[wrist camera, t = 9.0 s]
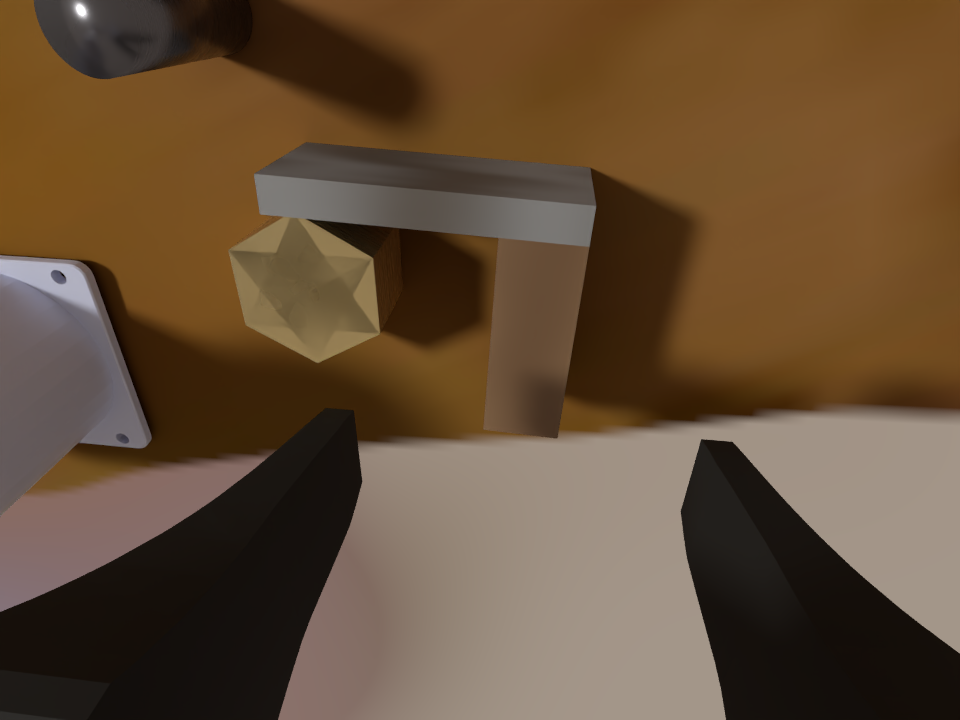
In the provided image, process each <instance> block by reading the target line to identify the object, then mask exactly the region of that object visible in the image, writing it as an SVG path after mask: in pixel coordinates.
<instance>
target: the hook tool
mask: <svg viewBox="0 0 960 720" xmlns="http://www.w3.org/2000/svg"><path fill="white" fill-rule="evenodd" d="M254 177H255V184H256V191H257V198H258V204H259V211H260V214H262V215H272V216H282V217H292V218H302V219H312V220H322V221H333V222H343V223H353V224H363V225H373V226H383V227H393V228H404V229H414V230H424V231H434V232H444V233H454V234H464V235H475V236H485V237H495V238H499V239H498V251H497V264H496V277H495V289H494V302H493V315H492V327H491V340H490V353H489V365H488V378H487V390H486V403H485V416H484V428H483V430H491V431H500V432H508V433H516V434H524V435H533V436H541V437H549V438H557V437H558V431H559V425H560V419H561V413H562V407H563V401H564V395H565V389H566V383H567V378H568V372H569V366H570V360H571V354H572V348H573V342H574V336H575V330H576V324H577V318H578V312H579V306H580V300H581V294H582V288H583V282H584V276H585V270H586V264H587V258H588V253H589V247H590V241H591V235H592V229H593V223H594V217H595V211H596V201H595V195H594V188H593V182H592V176H591V169H590V168H588V167H577V166H566V165H554V164H543V163H532V162H521V161H509V160H498V159H487V158H476V157H464V156H453V155H442V154H431V153H420V152H408V151H397V150H386V149H375V148H363V147H352V146H341V145H330V144H319V143H307V142H306V143H304V144H303V145H301V146H299V147H298V148H296V149H294V150H293V151H291V152H289V153H288V154H286V155H284V156H283V157H281V158H279V159H278V160H276V161H274V162H273V163H271V164H270V165H268V166H266V167H265V168H263V169H261V170H260V171H258V172H256V173H255V174H254Z"/></svg>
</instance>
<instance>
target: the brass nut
mask: <svg viewBox="0 0 960 720" xmlns="http://www.w3.org/2000/svg"><path fill="white" fill-rule="evenodd" d="M228 251H229V255H230V259H231V264H232V268H233V272H234V277H235V281H236V285H237V290H238V294H239V298H240V303H241V307H242V311H243V316H244V320H245V324H246V325H247V326H249V327H250V328H252V329H254V330H256V331H258V332H260V333H262V334H264V335H266V336H267V337H269V338H271V339H273V340H275V341H277V342H279V343H281V344H282V345H284V346H286V347H288V348H290V349H292V350H294V351H296V352H298V353H299V354H301V355H303V356H305V357H307V358H309V359H311V360H313V361H315V362H316V363H319V362H321V361H323V360H325V359H328V358H330V357H332V356H334V355H336V354H338V353H340V352H343V351H345V350H347V349H349V348H351V347H353V346H355V345H358V344H360V343H362V342H364V341H366V340H368V339H370V338H373V337H375V336H377V335H379V334H380V333H381V331H382V329H383V327H384V325H385V323H386V321H387V319H388V318H389V316H390V314H391V312H392V310H393V308H394V306H395V304H396V302H397V300H398V298H399V296H400V294H401V293H402V291H403V281H402V266H401V250H400V235H399V228H393V227H383V226H373V225H363V224H353V223H343V222H333V221H322V220H312V219H302V218H292V217H282V216H271V217H269V218H268V219H267V220H266V221H264V222H263V223H262V224H261V225H259V226H258V227H257V228H256V229H254V230H253V231H252V232H251V233H249V234H248V235H247V236H245V237H244V238H243V239H242V240H240V241H239V242H238V243H237V244H235V245H234V246H233V247H232V248H230V249H229V250H228Z"/></svg>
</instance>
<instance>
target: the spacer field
mask: <svg viewBox="0 0 960 720" xmlns="http://www.w3.org/2000/svg"><path fill="white" fill-rule="evenodd" d="M34 5H35V11H36V15H37V19H38V22H39V24H40V27H41V29H42V31H43V33H44V35H45V37H46V39H47V40H48V42H49V43H50V45H51V46H52V48H53V49H54V50H55V51H56V53H57V54H58V55H59V56H60V57H61V58H62V59H63V60H64V61H65V62H66V63H68V64H69V65H70V66H71V67H73V68H74V69H76V70H77V71H79V72H81V73H83V74H85V75H88V76H90V77H94V78H99V79H111V78H116V77H121V76H126V75H131V74H136V73H141V72H146V71H151V70H156V69H161V68H166V67H170V66H175V65H180V64H185V63H190V62H195V61H200V60H205V59H210V58H215V57H220V56H225V55H230V54H234V53H236V52H238V51H239V50H241V49H242V48H243V47H244V46H245V45H246V43H247V41H248V40H249V37H250V34H251V30H252V13H251V9H250V5H249V2H248V0H34Z"/></svg>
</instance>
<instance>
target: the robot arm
mask: <svg viewBox="0 0 960 720" xmlns="http://www.w3.org/2000/svg"><path fill="white" fill-rule="evenodd" d="M60 272H62V273H63V274H64V275H65V277H66V278H64V277H63V276H62V275H61V273H60ZM151 439H152V437H151V433H150V430H149V428H148V425H147V422H146V419H145V416H144V414H143V411H142V408H141V405H140V403H139V400H138V397H137V394H136V392H135V389H134V386H133V383H132V380H131V378H130V375H129V372H128V369H127V367H126V364H125V361H124V358H123V355H122V353H121V350H120V347H119V344H118V342H117V339H116V336H115V333H114V330H113V328H112V325H111V322H110V319H109V317H108V314H107V311H106V308H105V306H104V303H103V300H102V297H101V294H100V292H99V289H98V286H97V283H96V281H95V278H94V275H93V273H92V271H91V270H90V269H89V268H88V267H87V266H86V265H85V264H83V263H82V262H80V261H76V260H63V259H49V258H34V257H19V256H4V255H0V516H1V515H2V514H3V513H4V512H5V511H6V510H8V509H9V508H10V507H11V506H12V505H13V504H14V503H15V502H16V501H17V500H18V499H19V498H20V497H21V496H22V495H23V494H25V493H26V492H27V491H28V490H29V489H30V488H31V487H32V486H33V485H34V484H35V483H36V482H37V481H38V480H39V479H40V478H41V477H43V476H44V475H45V474H46V473H47V472H48V471H49V470H50V469H51V468H52V467H53V466H54V465H55V464H56V463H57V462H58V461H60V460H61V459H62V458H63V457H64V456H65V455H66V454H67V453H68V452H69V451H70V450H71V449H72V448H73V447H74V446H75V445H76V444H78V443H88V444H98V445H109V446H119V447H129V448H144V447H146V446H147V445H148V444H149V442H150V441H151ZM361 484H362V476H361V468H360V459H359V451H358V442H357V434H356V426H355V417H354V410H342V409H330V408H326V409H324V410H323V411H322V412H321V413H320V414H318V415H317V416H316V417H315V418H314V419H312V420H311V421H310V422H309V423H308V424H307V425H305V426H304V427H303V428H302V429H301V430H300V431H299V432H297V433H296V434H295V435H294V436H293V437H292V438H291V439H289V440H288V441H287V442H286V443H285V444H284V445H282V446H281V447H280V448H279V449H278V450H277V451H275V452H274V453H273V454H272V455H271V456H269V457H268V458H267V459H266V460H265V461H263V462H262V463H261V464H260V465H259V466H257V467H256V468H255V469H254V470H253V471H251V472H250V473H249V474H247V475H246V476H245V477H243V478H242V479H241V480H240V481H238V482H237V483H235V484H234V485H233V486H231V487H230V488H229V489H228V490H226V491H225V492H224V493H222V494H221V495H220V496H218V497H217V498H215V499H214V500H213V501H211V502H210V503H209V504H207V505H206V506H204V507H202V508H201V509H200V510H198V511H197V512H195V513H194V514H192V515H191V516H189V517H187V518H186V519H184V520H183V521H181V522H179V523H178V524H176V525H175V526H173V527H172V528H170V529H168V530H167V531H165V532H163V533H162V534H160V535H158V536H156V537H155V538H153V539H151V540H149V541H147V542H146V543H144V544H142V545H140V546H138V547H137V548H135V549H133V550H132V551H129V552H128V553H126V554H124V555H122V556H121V557H119V558H117V559H115V560H113V561H111V562H109V563H108V564H106V565H104V566H102V567H100V568H98V569H96V570H94V571H92V572H89V573H87V574H85V575H83V576H81V577H79V578H77V579H75V580H73V581H71V582H69V583H67V584H64V585H62V586H60V587H58V588H56V589H54V590H51V591H49V592H47V593H45V594H42V595H40V596H38V597H36V598H33V599H31V600H29V601H26V602H24V603H21V604H19V605H16V606H14V607H12V608H9V609H7V610H4V611H2V612H0V720H278V717H279V714H280V711H281V707H282V704H283V701H284V697H285V693H286V690H287V687H288V683H289V681H290V677H291V674H292V671H293V667H294V665H295V661H296V658H297V655H298V652H299V649H300V645H301V642H302V639H303V637H304V634H305V631H306V629H307V626H308V623H309V621H310V618H311V616H312V613H313V611H314V609H315V607H316V604H317V602H318V599H319V597H320V595H321V592H322V590H323V587H324V585H325V583H326V581H327V578H328V576H329V574H330V571H331V569H332V567H333V564H334V562H335V560H336V557H337V555H338V552H339V550H340V548H341V545H342V543H343V540H344V538H345V536H346V533H347V531H348V528H349V526H350V523H351V520H352V516H353V513H354V510H355V506H356V503H357V499H358V495H359V492H360V488H361ZM681 517H682V525H683V533H684V540H685V547H686V554H687V559H688V563H689V568H690V571H691V575H692V579H693V582H694V587H695V590H696V594H697V597H698V601H699V605H700V609H701V613H702V616H703V620H704V623H705V627H706V631H707V634H708V638H709V642H710V646H711V649H712V653H713V657H714V660H715V664H716V669H717V673H718V677H719V682H720V686H721V691H722V697H723V703H724V709H725V715H726V720H960V653H958V652H957V651H955V650H954V649H953V648H951V647H950V646H949V645H947V644H946V643H945V642H943V641H942V640H940V639H939V638H938V637H937V636H935V635H934V634H933V633H931V632H930V631H929V630H927V629H926V628H924V627H923V626H922V625H920V624H919V623H918V622H917V621H915V620H914V619H913V618H912V617H910V616H909V615H908V614H906V613H905V612H904V611H902V610H901V609H900V608H899V607H898V606H896V605H895V604H894V603H893V602H892V601H890V600H889V599H888V598H887V597H886V596H885V595H883V594H882V593H881V592H880V591H879V590H878V589H876V588H875V587H874V586H873V585H872V584H870V583H869V582H868V581H867V580H866V579H865V578H863V577H862V576H861V575H860V574H859V573H858V572H857V571H856V570H854V569H853V568H852V567H851V566H850V565H849V564H848V563H847V562H846V561H845V560H844V559H843V558H842V557H840V556H839V555H838V554H837V553H836V552H835V551H834V550H833V549H832V548H831V547H830V546H829V545H828V544H827V543H826V542H825V541H824V540H823V539H822V538H821V537H819V535H818V534H817V533H816V532H814V530H813V529H812V528H811V527H810V526H809V525H808V524H807V523H806V522H805V521H804V520H803V519H802V518H801V517H800V516H799V515H798V514H797V513H796V512H795V511H794V510H793V509H792V508H791V506H790V505H789V504H788V503H787V502H786V501H785V500H784V499H783V498H782V497H781V496H780V495H779V493H778V492H777V491H776V490H775V489H774V488H773V487H772V486H771V485H770V483H769V482H768V481H767V480H766V479H765V478H764V477H763V476H762V474H760V472H759V471H758V470H757V469H756V468H755V467H754V466H753V464H752V463H751V462H750V461H749V460H748V459H747V457H746V456H745V455H744V454H743V453H742V452H741V451H740V450H739V448H738V447H737V446H736V445H735V444H734V443H733V442H727V441H715V440H703V439H702V440H701V443H700V446H699V450H698V453H697V457H696V460H695V464H694V467H693V471H692V474H691V478H690V481H689V485H688V488H687V492H686V495H685V499H684V502H683V506H682V509H681Z"/></svg>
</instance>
